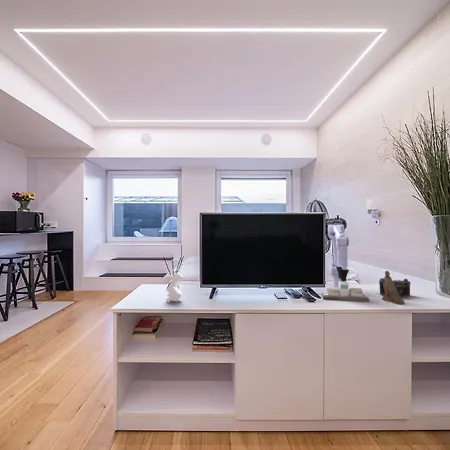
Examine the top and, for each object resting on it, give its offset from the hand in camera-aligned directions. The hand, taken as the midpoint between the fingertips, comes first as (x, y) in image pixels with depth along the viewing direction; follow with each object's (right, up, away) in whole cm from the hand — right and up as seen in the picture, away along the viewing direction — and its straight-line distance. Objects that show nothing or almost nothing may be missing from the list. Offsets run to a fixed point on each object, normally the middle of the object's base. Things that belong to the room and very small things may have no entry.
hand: (342, 280), depth 176 cm
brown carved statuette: (+23, -10, -13) cm, 28 cm away
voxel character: (-98, -10, -10) cm, 99 cm away
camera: (+31, -10, -2) cm, 33 cm away
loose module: (-2, -7, -6) cm, 9 cm away
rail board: (-1, -10, -6) cm, 11 cm away
